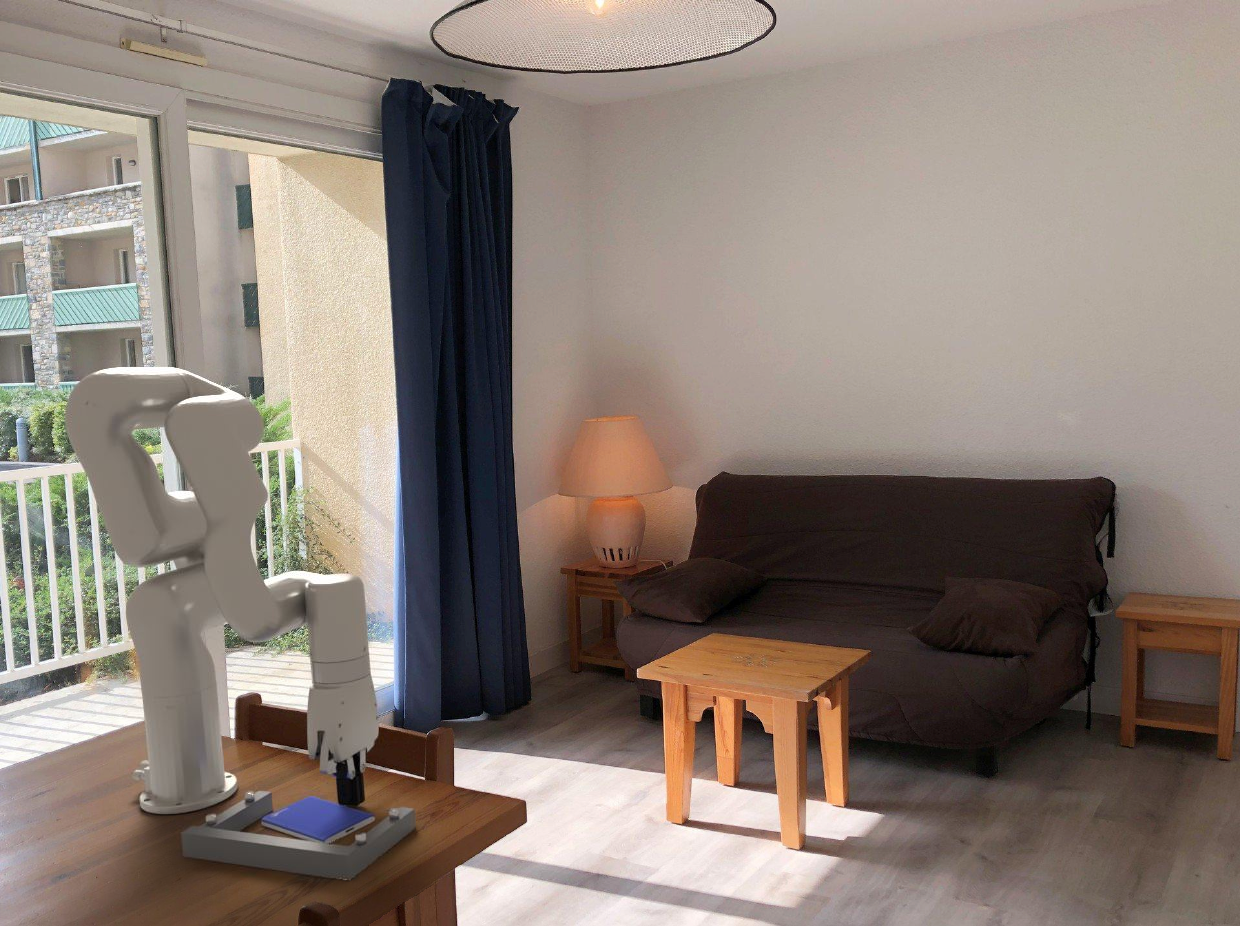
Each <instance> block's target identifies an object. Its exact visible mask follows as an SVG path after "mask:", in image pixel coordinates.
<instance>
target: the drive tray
mask: <svg viewBox="0 0 1240 926" xmlns="http://www.w3.org/2000/svg"><path fill="white" fill-rule="evenodd" d="M272 794H273V793H272V791H267V790H265V791H264V790H258V791H256V792H254V791H252V790H250V791H246V792H245V793H244V799H243V800H241V801H240V802H238V803H236V804H234V805H233V806H230V807H229V808H227V809H225V810H224V811H223V812H220V813H219V814H216V813H209V814H207V815H206V816H205V822H203V823H202V824H200V825H191V826H190V827H187V829H185V830H183V831H182V832H180V836H181V845H182V847H181V848H182V857H184V858H192V859H198V860H204V861H211V862H212V861H213V862H219V863H226V864H233V865H238V866H239V865H240V866H245V867H251V868H252V867H253V868H259V869H265V870H273V871H280V872H287V873H293V874H301V875H306V876H307V875H308V876H312V877H313V876H314V877H320V876H321V877H320V878H328V879H333V878H338V879H337V880H340V878H341V879H347V880H350V879H352V878H353V879H354V878H355V877H357V876H358V875H359V874H360V873H362V872H361V871H362V870H363V869H364V868H365V869H366V867H367V868H368V867H369V866H370V865H372V864H373V863H374V862H375V861H377V860H378V859H379V858H380V857H382V856H383V855H384V854H385V853H386V852H388V851H389V850H390V849H392V848H393V845H394V844H395V845H397V843H399V842H400V841H401V840H402V839H403V837H404V836H405V837H406V836H407V835H409V834H410V833H411V832H412V831H413V830H415V829H416V828H415V827H416V815H415V814H416V813H415V808H412V807H406V806H400V807H392V808H390V809H388V816H387V817H385V818H384V819H383V820H382V821H380V822H379V823H377V824H376V825H375V826H374V827H372V828H371V829H369V830H368V831H367V832H358V833H356V834H355V835H354V836H355V840H354V841H353V843H351V844H350V845H341V844H334V843H330V844H327V843H320V842H312V841H308V840H305V839H298V838H297V839H296V838H288V837H281V836H274V835H268V834H258V833H252V832H244V831H242V830H244V829H245V828H247V827H249V826H250V825H252V824H253V823H256V822H257V821H258V820H259V819H262V818H263V817H265V816H267V815H269V814H270V812H271V813H272V811H273V810H274V809H273V797H272V796H273V795H272ZM414 828H415V829H414ZM411 830H412V831H411ZM405 837H404V838H405ZM395 845H394V846H395ZM388 849H389V850H388ZM383 853H384V854H383ZM382 854H383V855H382ZM379 856H380V857H379ZM378 857H379V858H378ZM377 858H378V859H377ZM374 860H375V861H374ZM373 861H374V862H373ZM372 862H373V863H372ZM368 865H369V866H368ZM365 869H364V870H365ZM364 870H363V871H364ZM359 872H360V873H359ZM358 873H359V874H358ZM357 874H358V875H357ZM356 875H357V876H356ZM353 879H352V880H353ZM350 881H351V880H350Z"/></svg>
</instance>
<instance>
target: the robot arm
mask: <svg viewBox="0 0 1240 926" xmlns="http://www.w3.org/2000/svg"><path fill="white" fill-rule="evenodd" d="M64 424H65V431H66V434H67V437H68V440H69V443H70V446H71V447H72V450H73V452H74V454H75V456H76V458H77V460H78V461H79V463H80V465H81V467H82V469H83V471H84V473H85V475H86V477H87V480H88V482H89V485H90V487H91V490H92V494H93V497H94V499H95V502H96V505H97V507H98V511H99V513H100V516H101V518H102V521H103V523H104V526H105V529H106V532H107V534H108V537H109V540H110V543H111V545H112V547H113V551H114V552H115V554H116V555H117V557H118V558H119V560H120V561H121V562H122V563H123V564H124V565H127V566H129V567H132V568H140V569H141V568H147V567H152V566H153V567H154V566H158V565H162V564H165V563H169V562H171V561H173V563H174V565H175V568H176V569H172V570H170V571H166V572H163V573H160V574H157V575H154V576H152V577H150V578H148V579H146V580H144V581H142V582H141V583H140V584H139V585H138V586H136V587H135V588H134V589H133V591H132V592H131V594H130V595H129V597H128V599H127V601H126V605H125V606H126V607H125V619H126V620H125V621H126V624H127V628H128V631H129V634H130V637H131V639H132V643H133V647H134V650H135V654H136V659H137V665H138V671H139V679H140V680H139V681H140V691H141V695H142V705H143V706H142V708H143V717H144V728H145V729H144V730H145V736H146V737H145V738H146V739H145V740H146V748H147V759H148V760H146V759H145V760H142V761H141V762H140V763H139V765H138V769H135V770H134V771H133V773H132V779H133V780H136V781H144V782H145V784H144V785H145V790H143V791H142V793H141V794H140V795H139V806H140V807H141V808H140V809H142V810H143V811H145V812H147V813H151V814H154V815H155V814H156V815H157V814H158V815H174V814H175V815H176V814H184V813H188V812H194V811H199V810H202V809H205V808H208V807H212V806H214V805H216V804H218V803H221V802H223V801H225V800H226V799H228V798H230V797H231V796H232V795H233V794H234V793H236V791H237V789H238V778H237V777H236V776H235V775H234V774H232V773H230V772H229V771H228V772H227V771H225V764H224V763H225V762H224V752H223V742H222V741H223V740H222V729H221V719H220V710H219V709H220V708H219V707H220V706H219V695H218V685H217V675H216V667H215V662H214V659H213V657H212V654H211V653H210V651H209V649H208V648H207V646H206V643H205V642H204V640H203V637H202V633H205V632H207V631H209V630H211V629H214V628H217V627H219V626H221V625H223V624H224V625H225V624H226V623H227V624H228V625H229V627H230V628H231V630H233V632H234V633H235V634H236V635H238V636H239V637H240V638H242V639H243V640H244V641H245V640H246V641H248V642H251V643H263V642H268V641H270V640H273V639H275V638H277V637H279V636H282V635H284V634H287V633H289V632H291V631H293V630H296V629H299V628H302V627H305V626H307V638H308V649H309V658H310V659H309V661H310V672H311V674H310V675H311V686H309V689H308V690H309V691H308V696H307V697H308V698H307V707H306V708H307V712H306V716H307V717H306V727H307V728H306V730H307V731H306V734H307V751H308V752H307V753H308V757H309V759H310V760H311V761H318V760H319V759H320V760H319V773H320V774H323V775H324V774H325V775H331V774H332V777H333V778H335V783H336V784H335V785H336V795H337V804H340V805H343V806H347V807H354V808H355V807H356V808H357V807H359V806H360V805H361V804H362V803H364V802H365V801H366V794H365V781H364V773H363V772H365V770H366V757H367V755H368V752H370V750H371V749H372V748H373V747H374V746H375V741H376V740H377V738H378V737H379V729H380V728H379V711H378V703H377V698H376V691H375V686H374V681H373V677H372V674H371V660H370V659H371V658H370V648H369V635H368V633H369V632H368V623H367V620H368V619H367V609H366V595H365V585H364V581H363V580H362V578H360V576H359V575H356V574H353V573H331V574H320V573H315V572H311V571H304V570H291V571H285V572H284V573H281V574H278V575H275V576H271V577H267V578H266V579H265V578H263V576H262V574H261V572H260V570H259V568H258V565H257V563H256V561H255V558H254V553H253V551H252V550H253V549H252V542H251V540H252V538H251V537H252V531H253V526H254V524H255V522H256V519H257V518H258V516H259V514H260V513H261V511H262V509H263V508H264V507H265V505H266V504H267V502H268V498H269V491H268V490H267V488H266V487H267V486H266V485H265V483H264V481H263V480H262V478H261V476H260V473H259V472H258V470H257V467H256V466H255V463H254V462H253V459H252V456H251V455H250V453H249V452H250V451H253V450H254V449H255V448H256V447H258V446H259V444H261V441H262V439H263V437H264V434H265V432H264V429H265V425H264V420H263V416H262V415H261V412H260V410H259V409H258V408H257V406H256V405H255V404H254V403H253V402H252V401H251V400H250V399H248V398H247V397H245V396H244V395H242V394H240V393H238V392H235V391H233V390H231V389H228V388H226V387H224V386H222V385H219V384H217V383H214V382H213V381H209V380H208V379H205V378H203V377H201V376H199V375H196V374H194V373H192V372H189V371H187V370H184V369H181V368H176V367H170V366H169V367H167V366H166V367H163V366H155V367H154V366H153V367H150V366H148V367H146V366H145V367H139V366H137V367H136V366H135V367H134V366H131V367H130V366H127V367H126V366H125V367H112V368H105V369H99V370H98V371H94V372H92V373H90V374H87V375H86V376H85V377H83V378H82V379H80V380H79V381H78V382H77V383H76V385H75V386H74V387H73V388H72V390H71V392H70V394H69V396H68V398H67V402H66V406H65V412H64ZM155 428H156V429H157V428H164V433H165V436H166V439H167V442H168V444H169V446H170V448H171V450H172V452H173V453H174V456H175V458H176V460H177V462H178V464H179V466H180V469H181V471H182V472H183V474H184V475H183V476H185V479H186V481H187V483H188V485H189V487H190V489H191V491H189V490H188V491H187V490H179V491H176V490H175V491H171V492H167V491H166V488H165V487H164V484H163V482H162V479H161V478H160V475H159V472H158V468H157V466H156V463H155V462H154V460H153V458H152V457H151V455H150V454H149V452H148V451H147V449H145V448H144V447H143V445H142V444H140V443H139V441H137V440H136V439H135V438H134V436H133V434H132V433H133V432H134V431H135V430H145V429H146V430H147V429H155Z"/></svg>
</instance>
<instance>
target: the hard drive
mask: <svg viewBox="0 0 1240 926" xmlns="http://www.w3.org/2000/svg"><path fill="white" fill-rule="evenodd" d="M260 819H261V826H262V827H265V828H269V829H272V830H275V831H278V832H281V833H284V834H287V835H290V836H293V837H296V838H298V839H301V840H305V841H312V842H320V843H327V844H329V843H330V844H332V843H333V841H334V842H335V840H336V839H338V840H339V838H340V837H341V838H344V837H345V836H347V835H349V834H352V833H353V832H355V831H357V830H359V829H361V828H363V827H365V826H368V825H369V824H371V823H373V822H375V821H376V817H375V814H373V813H370V812H365V811H364V810H361V809H360V810H358V809H356V808H353V807H351V806H346V805H340V804H338V802H337V803H336V802H333V801H331V800H330V801H329V800H326V799H323V798H320V797H316V796H314V795H313V796H312V795H309V796H306V797H304V798H302V799H300V800H298V801H296V802H294V803H291V804H289V805H286V806H285V807H282V808H280V809H277V810H276V811H273V812H271V813H268V814H266V815H264V816H263V817H261V818H260ZM374 820H375V821H374ZM372 821H373V822H372ZM341 838H340V839H341ZM336 841H337V840H336ZM331 842H332V843H331Z"/></svg>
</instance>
